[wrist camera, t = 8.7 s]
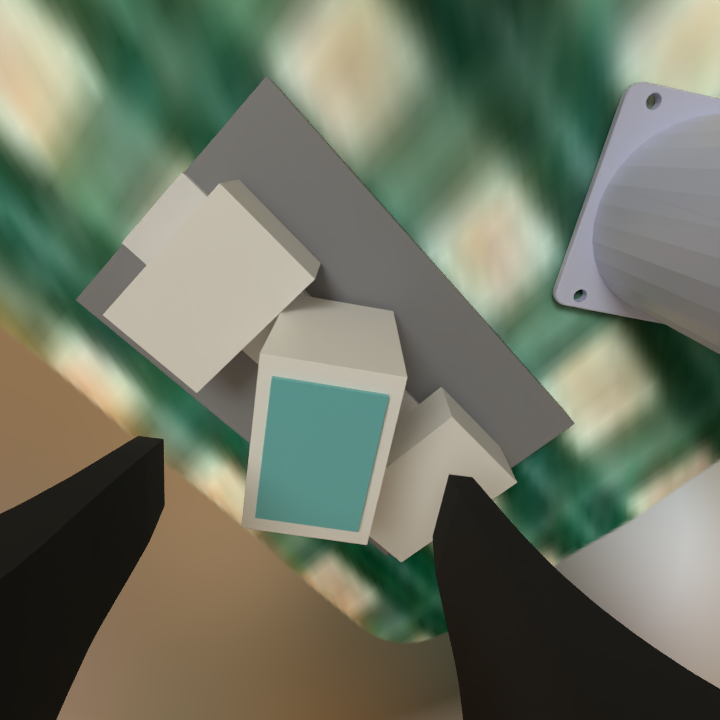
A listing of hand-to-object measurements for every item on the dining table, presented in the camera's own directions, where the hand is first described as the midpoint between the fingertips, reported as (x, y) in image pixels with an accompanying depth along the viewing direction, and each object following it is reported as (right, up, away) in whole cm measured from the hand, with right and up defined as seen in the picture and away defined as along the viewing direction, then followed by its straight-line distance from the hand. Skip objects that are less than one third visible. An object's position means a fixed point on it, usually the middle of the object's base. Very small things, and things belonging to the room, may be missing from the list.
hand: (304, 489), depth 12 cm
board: (0, +4, +9) cm, 9 cm away
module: (0, +3, +7) cm, 8 cm away
